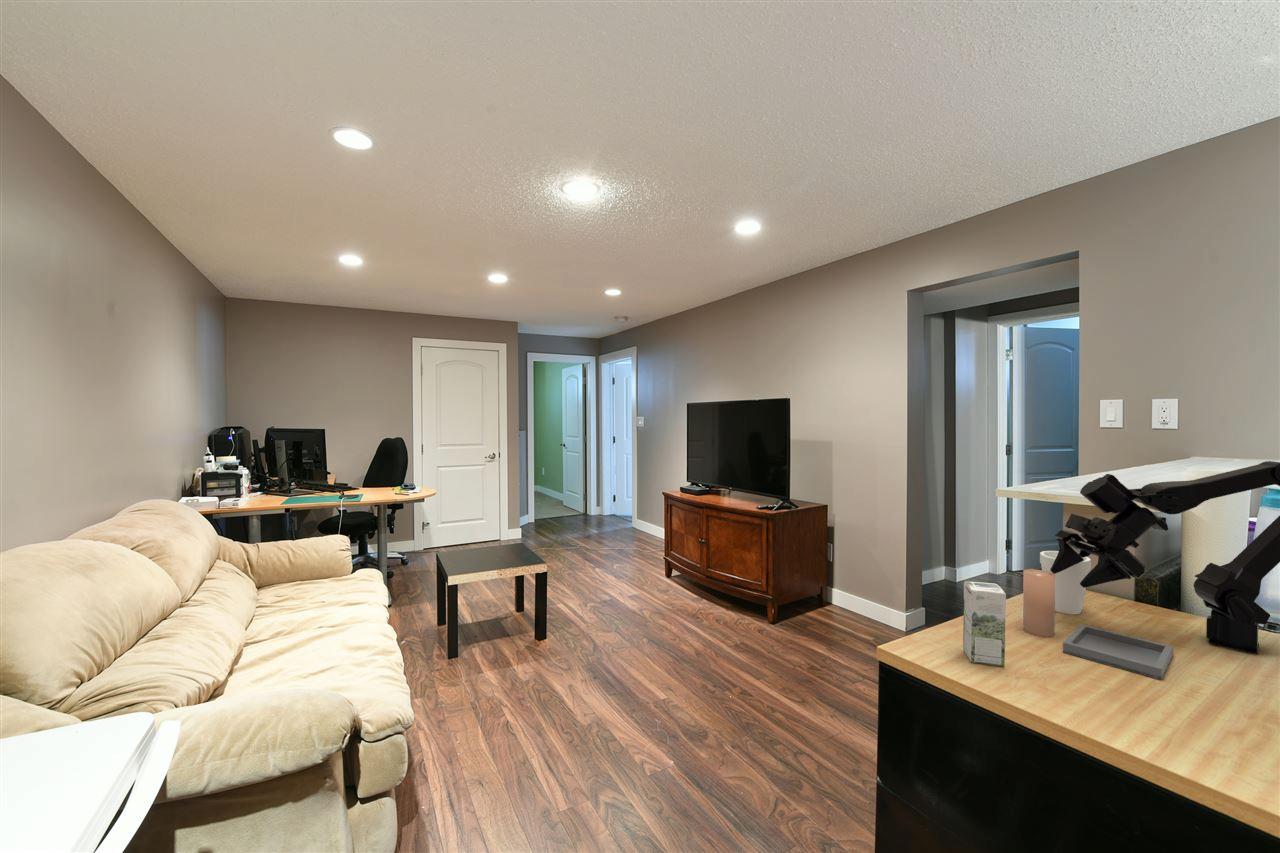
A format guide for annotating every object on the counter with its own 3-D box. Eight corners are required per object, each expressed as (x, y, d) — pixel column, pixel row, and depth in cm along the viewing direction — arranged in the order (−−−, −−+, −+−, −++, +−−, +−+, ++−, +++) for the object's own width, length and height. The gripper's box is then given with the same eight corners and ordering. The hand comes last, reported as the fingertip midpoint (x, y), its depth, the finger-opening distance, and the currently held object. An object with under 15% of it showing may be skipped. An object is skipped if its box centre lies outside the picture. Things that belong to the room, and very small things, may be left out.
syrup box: (995, 654, 103) (996, 582, 103) (1005, 668, 98) (1006, 592, 97) (962, 650, 105) (963, 579, 105) (970, 663, 100) (971, 589, 99)
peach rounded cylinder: (1057, 632, 113) (1058, 573, 113) (1050, 639, 110) (1051, 578, 109) (1027, 624, 117) (1027, 567, 117) (1019, 631, 114) (1019, 572, 114)
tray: (1173, 656, 101) (1173, 646, 101) (1161, 680, 93) (1161, 669, 93) (1081, 633, 112) (1081, 624, 112) (1062, 652, 104) (1063, 642, 104)
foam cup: (1100, 616, 121) (1101, 561, 121) (1060, 617, 121) (1060, 561, 121) (1067, 601, 130) (1068, 550, 130) (1030, 602, 131) (1030, 550, 130)
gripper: (1064, 495, 121) (1012, 541, 122) (1130, 510, 102) (1068, 564, 104) (1101, 529, 120) (1048, 575, 122) (1174, 551, 101) (1110, 605, 103)
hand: (1066, 578), depth 112 cm, fingers open, 9 cm apart
